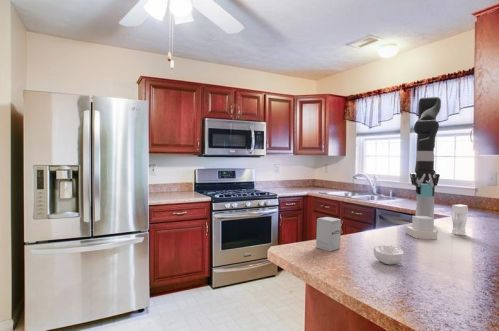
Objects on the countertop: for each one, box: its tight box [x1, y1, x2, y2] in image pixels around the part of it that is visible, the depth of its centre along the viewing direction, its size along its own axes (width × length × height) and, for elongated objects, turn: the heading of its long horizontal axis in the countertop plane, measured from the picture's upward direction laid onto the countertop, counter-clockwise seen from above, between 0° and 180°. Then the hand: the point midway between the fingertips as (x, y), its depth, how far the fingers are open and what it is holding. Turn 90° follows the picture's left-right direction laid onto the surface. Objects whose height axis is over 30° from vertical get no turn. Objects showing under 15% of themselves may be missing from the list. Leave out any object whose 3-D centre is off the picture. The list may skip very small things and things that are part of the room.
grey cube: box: [411, 215, 435, 231], centre depth 149 cm, size 7×7×6 cm
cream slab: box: [405, 226, 438, 240], centre depth 149 cm, size 10×10×4 cm
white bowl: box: [372, 244, 404, 265], centre depth 109 cm, size 10×12×7 cm
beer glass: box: [451, 204, 469, 236], centre depth 155 cm, size 7×7×15 cm
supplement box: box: [315, 216, 342, 252], centre depth 125 cm, size 7×7×13 cm
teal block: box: [415, 184, 433, 197], centre depth 148 cm, size 5×5×6 cm
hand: (424, 194), depth 148 cm, fingers closed on teal block, 5 cm apart
